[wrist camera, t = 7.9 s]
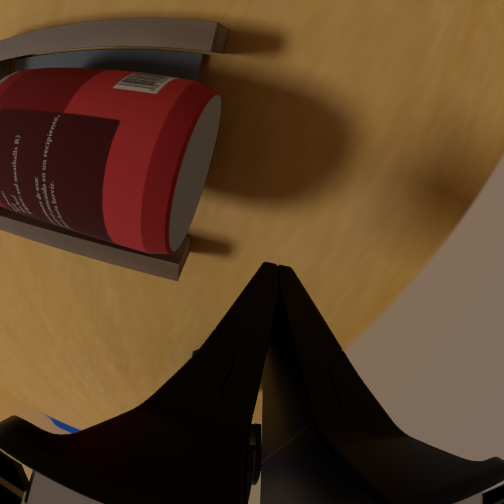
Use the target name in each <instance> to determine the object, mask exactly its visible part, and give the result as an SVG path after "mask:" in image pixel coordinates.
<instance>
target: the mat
mask: <svg viewBox="0 0 504 504" xmlns="http://www.w3.org/2000/svg"><path fill="white" fill-rule="evenodd" d="M203 56H204V54H196V53H187V52H176V51H163V50H141V49H108V50H86V51H73V52H63V53H54V54H47V55H40V56H34V57H28V58H23V59H17V60H16V63H15V72H18V71H22V70H27V69H37V68H96V69H111V70H122V71H132V72H141V73H149V74H156V75H163V76H169V77H175V78H181V79H187V80H192V81H197V82H198V80H199V75H200V70H201V65H202V60H203Z"/></svg>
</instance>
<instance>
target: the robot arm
mask: <svg viewBox="0 0 504 504" xmlns="http://www.w3.org/2000/svg"><path fill="white" fill-rule="evenodd" d="M262 373H263V408H262V442H261V424H256V423H255V424H251V422H252V418H253V413H254V409H255V405H256V400H257V396H258V391H259V387H260V382H261V378H262ZM0 449H2V450H3V451H4V452H6V453H7V454H9V455H10V456H12V457H13V458H15V459H16V460H18V461H19V462H21V463H23V464H24V465H26V466H27V467H29V468H31V469H33V471H32V475H31V478H30V481H28V478H27V476H26V474H25V472H24V469H23V467H22V465H21V464H20V463H19V462H17V461H16V460H14V459H13V458H11V457H9V456H8V455H7V454H5V453H4V452H2V451H1V450H0V504H248V500H249V495H250V490H251V485H256V484H257V482H258V479H259V476H260V472H261V495H260V504H504V484H502V485H500V486H498V487H495V488H493V489H491V490H489V491H486V492H484V493H482V491H484V490H486V489H488V488H490V487H492V486H494V485H496V484H498V483H500V482H502V481H503V480H504V460H502V459H501V458H499V457H492V458H490V459H487V460H485V461H471V460H467V459H464V458H461V457H458V456H455V455H453V454H450V453H448V452H445V451H443V450H440V449H438V448H435V447H433V446H431V445H428V444H426V443H424V442H421V441H419V440H417V439H415V438H412V437H410V436H408V435H407V434H405V433H404V432H403V431H402V430H400V429H399V428H398V427H397V426H396V424H395V423H394V422H393V421H392V420H391V418H390V417H389V416H388V414H387V413H386V412H385V410H384V409H383V408H382V406H381V405H380V404H379V402H378V401H377V400H376V398H375V397H374V396H373V394H372V393H371V392H370V390H369V389H368V388H367V386H366V385H365V384H364V382H363V381H362V379H361V378H360V376H359V375H358V373H357V372H356V370H355V369H354V367H353V366H352V364H351V363H350V361H349V359H348V358H347V356H346V354H345V353H344V351H342V348H341V346H340V345H339V343H338V341H337V340H336V338H335V336H334V335H333V333H332V331H331V330H330V328H329V327H328V325H327V323H326V322H325V320H324V318H323V317H322V315H321V314H320V312H319V310H318V309H317V307H316V306H315V304H314V302H313V301H312V299H311V298H310V296H309V294H308V293H307V291H306V290H305V288H304V286H303V285H302V283H301V282H300V280H299V279H298V277H297V275H296V274H295V272H294V271H293V269H292V268H291V267H288V266H284V265H278V266H277V265H276V264H274V263H269V262H264V263H263V264H262V265H261V266H260V268H259V269H258V271H257V272H256V273H255V275H254V276H253V277H252V279H251V280H250V282H249V283H248V284H247V286H246V287H245V288H244V290H243V291H242V293H241V294H240V295H239V297H238V298H237V299H236V301H235V302H234V304H233V305H232V306H231V308H230V309H229V310H228V312H227V313H226V314H225V316H224V317H223V319H222V320H221V321H220V323H219V324H218V325H217V327H216V328H215V330H213V332H212V333H211V335H210V336H209V337H208V339H207V340H206V341H205V342H204V344H203V345H202V346H201V347H200V348H199V350H198V351H193V354H192V357H191V358H190V359H189V360H188V362H187V363H186V364H185V365H184V366H183V367H182V368H180V369H179V370H178V371H177V372H176V373H175V374H174V375H173V376H172V377H171V378H170V379H169V380H168V381H167V382H166V383H165V384H164V385H163V386H162V387H161V388H159V389H158V390H157V391H156V392H155V393H154V394H153V395H152V396H151V397H150V398H148V399H147V400H146V401H145V402H143V403H142V404H140V405H139V406H137V407H136V408H134V409H132V410H130V411H128V412H125V413H123V414H121V415H118V416H116V417H114V418H111V419H109V420H106V421H104V422H102V423H99V424H97V425H94V426H92V427H89V428H87V429H84V430H81V431H79V432H75V433H72V434H63V435H62V434H61V435H59V434H53V433H50V432H47V431H44V430H42V429H41V428H39V427H37V426H35V425H33V424H32V423H30V422H28V421H26V420H24V419H22V418H20V417H18V416H11V417H9V418H7V419H5V420H3V421H1V422H0Z"/></svg>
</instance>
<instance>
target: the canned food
mask: <svg viewBox="0 0 504 504" xmlns="http://www.w3.org/2000/svg"><path fill="white" fill-rule="evenodd" d="M220 116H221V98H220V95H219V93H218V92H216V91H215V90H213V89H211V88H209V87H207V86H206V85H204V84H202V83H200V82H197V81H192V80H187V79H181V78H175V77H169V76H163V75H156V74H149V73H141V72H132V71H122V70H111V69H96V68H37V69H27V70H22V71H18V72H14V73H12V74H10V75H8V76H6V77H4V78H3V79H1V80H0V206H1V207H4V208H6V209H8V210H11V211H14V212H17V213H20V214H23V215H26V216H29V217H32V218H35V219H38V220H41V221H44V222H47V223H50V224H54V225H57V226H60V227H63V228H66V229H69V230H72V231H76V232H79V233H82V234H85V235H88V236H92V237H95V238H98V239H102V240H105V241H108V242H111V243H115V244H118V245H121V246H125V247H128V248H132V249H135V250H138V251H142V252H145V253H149V254H170V253H173V252H175V251H176V250H177V249H178V248H179V247H180V245H181V243H182V242H183V240H184V238H185V236H186V234H187V232H188V229H189V227H190V225H191V222H192V220H193V217H194V214H195V211H196V209H197V206H198V203H199V200H200V197H201V194H202V191H203V187H204V184H205V181H206V177H207V174H208V170H209V167H210V163H211V159H212V156H213V151H214V147H215V143H216V139H217V134H218V129H219V123H220Z"/></svg>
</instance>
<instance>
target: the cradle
mask: <svg viewBox="0 0 504 504" xmlns="http://www.w3.org/2000/svg"><path fill="white" fill-rule="evenodd" d="M228 32H229V29H227V28H226V27H224V26H223V25H221V24H220V23H218V22H212V21H202V20H190V19H172V18H129V19H111V20H99V21H90V22H82V23H75V24H68V25H62V26H57V27H51V28H46V29H42V30H37V31H33V32H29V33H25V34H21V35H17V36H14V37H10V38H7V39H4V40H1V41H0V80H1V79H3V78H4V77H6V76H8V75H10V63H11V58H15V57H20V56H25V55H30V54H36V53H42V52H49V51H56V50H64V49H74V48H86V47H104V46H150V47H169V48H182V49H192V50H201V51H209V52H216V53H224V49H225V44H226V40H227V36H228ZM0 230H3V231H6V232H9V233H12V234H15V235H18V236H21V237H24V238H27V239H30V240H34V241H37V242H40V243H43V244H46V245H49V246H53V247H56V248H59V249H62V250H66V251H69V252H72V253H76V254H79V255H82V256H86V257H89V258H93V259H96V260H100V261H103V262H107V263H110V264H114V265H118V266H121V267H125V268H129V269H132V270H136V271H140V272H144V273H147V274H151V275H155V276H159V277H163V278H167V279H171V280H175V281H178V279H179V277H180V274H181V272H182V269H183V267H184V264H185V262H186V259H187V257H188V255H189V252H190V244H191V235H186V236H185V238H184V240H183V242H182V243H181V245H180V247H179V248H178V249H177V250H176V251H175V252H173V253H170V254H149V253H145V252H142V251H138V250H135V249H132V248H128V247H125V246H121V245H118V244H115V243H111V242H108V241H105V240H102V239H98V238H95V237H92V236H88V235H85V234H82V233H79V232H76V231H72V230H69V229H66V228H63V227H60V226H57V225H54V224H50V223H47V222H44V221H41V220H38V219H35V218H32V217H29V216H26V215H23V214H20V213H17V212H14V211H11V210H8V209H6V208H4V207H1V206H0Z"/></svg>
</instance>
